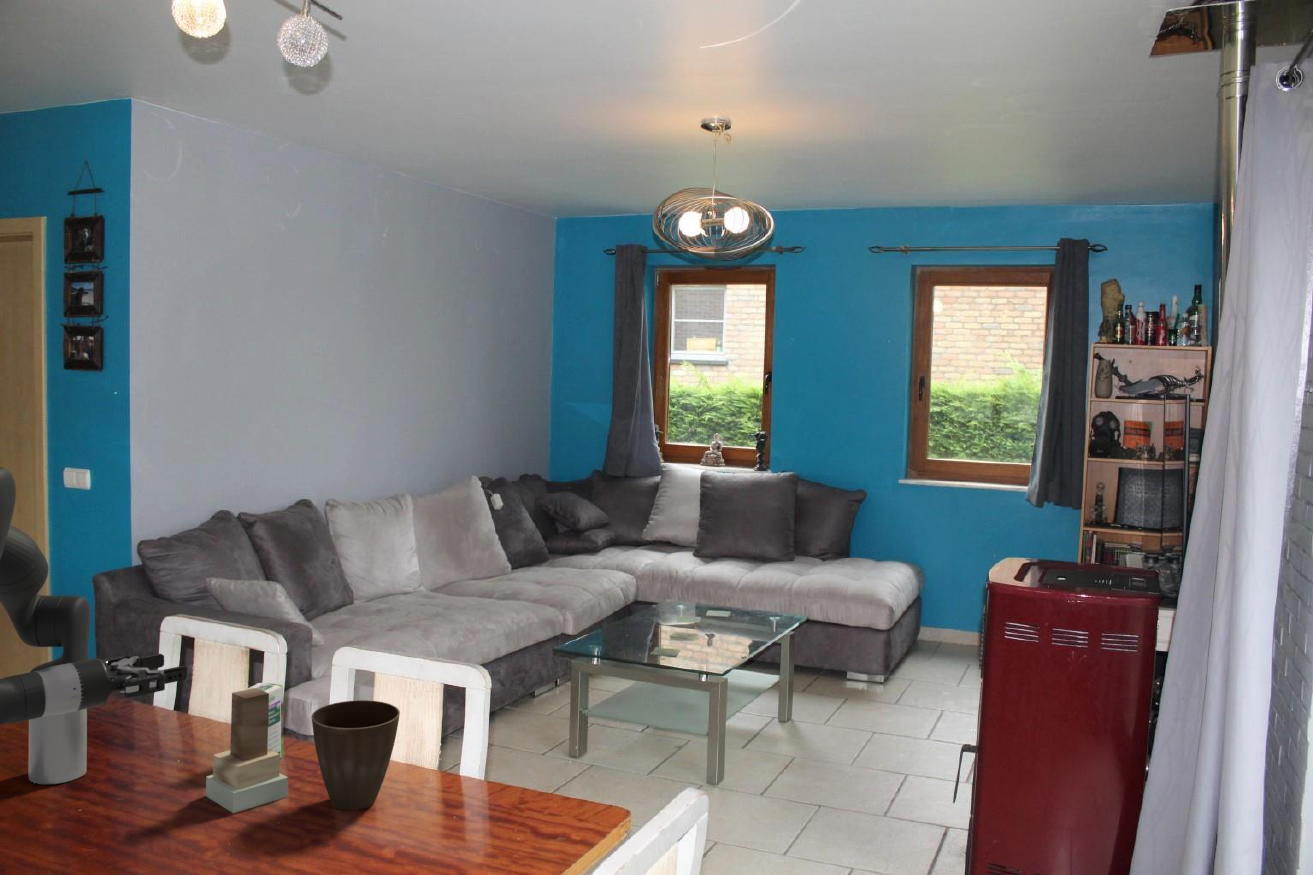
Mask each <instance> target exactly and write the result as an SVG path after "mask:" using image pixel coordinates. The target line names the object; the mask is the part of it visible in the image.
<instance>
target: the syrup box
mask: <svg viewBox="0 0 1313 875" xmlns="http://www.w3.org/2000/svg"><path fill="white" fill-rule="evenodd" d="M253 688H257V689H260V690H262V691H264V692H267V693H269V713H268V747H267V749H269V750H271V751H274V752H276V753H278V754H280V759H281V758H283V757H284V685H283V684H280V683H279V684H278V683H271V682H257V683H256V684H255V685H252V686H249V687H247V688H246V689H245V690H248V689H253Z"/></svg>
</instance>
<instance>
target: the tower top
mask: <svg viewBox="0 0 1313 875" xmlns="http://www.w3.org/2000/svg"><path fill="white" fill-rule="evenodd" d="M280 760H281V758H280V754H278V753H276V752H274V751H271V750H269V749H267V755H264V756H260V757H256V758H252V759H248V760H244V761H243V760H241V759H239V758H237V757H235V756H233V755H231V754H230V749H229V750H225V751H222V752H219V753H215V754H213V755H212V775H213V777H214V778H216V779H218V780H220V781H222V782H224V783H226V784H228V785H230V786H232V787H234V788H236V789H241V788H244V787H247V786H250V785H253V784H256V783H259V782H263V781H266V780H269V779H272V778H275V777H278V776H280V773H281V770H280V764H281V761H280Z"/></svg>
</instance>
